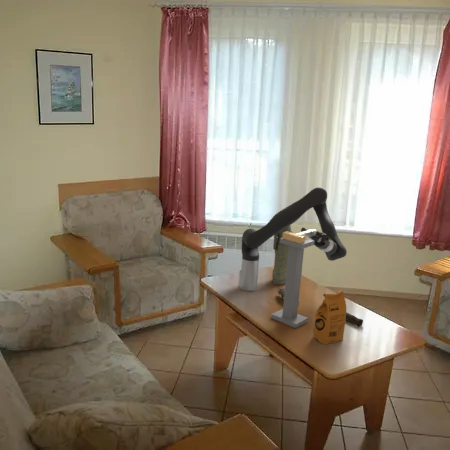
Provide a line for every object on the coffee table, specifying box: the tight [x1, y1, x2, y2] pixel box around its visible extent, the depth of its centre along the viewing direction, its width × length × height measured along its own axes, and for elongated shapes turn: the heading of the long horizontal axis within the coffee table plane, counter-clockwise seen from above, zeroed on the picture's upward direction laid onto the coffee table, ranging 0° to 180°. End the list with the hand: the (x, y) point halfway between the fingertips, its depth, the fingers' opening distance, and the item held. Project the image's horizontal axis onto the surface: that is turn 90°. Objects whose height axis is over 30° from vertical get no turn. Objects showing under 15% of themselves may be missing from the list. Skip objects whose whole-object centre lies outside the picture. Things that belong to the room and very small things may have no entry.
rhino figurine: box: [277, 287, 285, 301], centre depth 243 cm, size 4×14×6 cm, turn 21°
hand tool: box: [346, 311, 364, 328], centre depth 225 cm, size 19×4×5 cm, turn 33°
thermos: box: [271, 225, 294, 286], centre depth 263 cm, size 9×12×35 cm
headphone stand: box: [270, 238, 315, 329], centre depth 216 cm, size 14×10×40 cm
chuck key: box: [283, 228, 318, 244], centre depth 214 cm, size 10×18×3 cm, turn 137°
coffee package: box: [312, 289, 347, 345], centre depth 203 cm, size 10×12×22 cm
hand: (309, 231), depth 217 cm, fingers open, 7 cm apart
